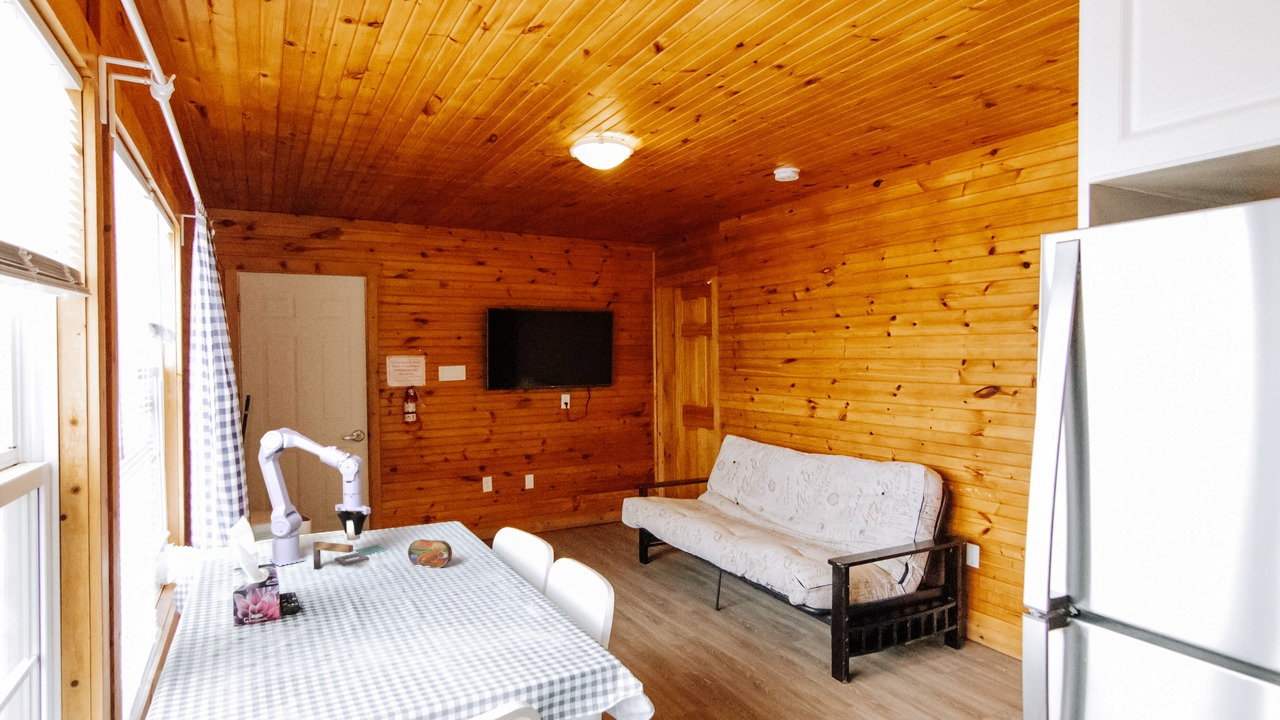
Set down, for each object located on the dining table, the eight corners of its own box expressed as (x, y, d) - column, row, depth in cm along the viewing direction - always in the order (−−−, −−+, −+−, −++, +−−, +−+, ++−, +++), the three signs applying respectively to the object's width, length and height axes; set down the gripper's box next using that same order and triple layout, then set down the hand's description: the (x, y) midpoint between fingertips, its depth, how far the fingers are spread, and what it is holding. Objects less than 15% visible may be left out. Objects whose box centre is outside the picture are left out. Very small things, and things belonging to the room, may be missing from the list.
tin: (407, 565, 219) (407, 539, 218) (413, 562, 222) (413, 537, 221) (448, 569, 214) (447, 542, 214) (453, 566, 217) (453, 540, 217)
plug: (344, 538, 226) (344, 521, 225) (356, 536, 229) (356, 518, 228) (350, 541, 223) (349, 522, 223) (362, 538, 226) (361, 520, 226)
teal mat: (354, 551, 235) (354, 549, 235) (376, 546, 241) (376, 544, 241) (364, 555, 230) (364, 554, 230) (387, 550, 235) (387, 549, 235)
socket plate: (334, 560, 225) (334, 557, 225) (358, 555, 230) (358, 552, 230) (344, 565, 219) (344, 562, 219) (368, 560, 225) (368, 557, 225)
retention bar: (312, 569, 216) (311, 543, 216) (317, 567, 218) (316, 541, 218) (349, 573, 212) (348, 546, 212) (353, 571, 214) (353, 544, 213)
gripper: (327, 493, 225) (328, 534, 225) (357, 497, 219) (358, 539, 219) (344, 489, 231) (345, 529, 232) (375, 493, 225) (376, 533, 225)
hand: (353, 533), depth 226 cm, fingers closed on plug, 4 cm apart
